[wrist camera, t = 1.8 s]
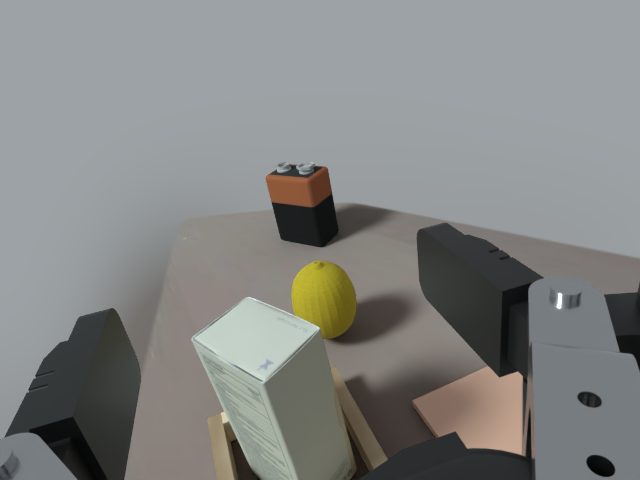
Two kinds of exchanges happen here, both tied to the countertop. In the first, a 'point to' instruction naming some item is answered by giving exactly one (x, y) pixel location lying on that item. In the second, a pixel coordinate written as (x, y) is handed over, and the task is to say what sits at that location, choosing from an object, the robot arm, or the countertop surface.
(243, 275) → the countertop surface
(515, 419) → the terracotta tile
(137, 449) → the countertop surface
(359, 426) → the square wooden frame
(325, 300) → the lemon
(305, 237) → the battery
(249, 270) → the countertop surface
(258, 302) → the skincare box
